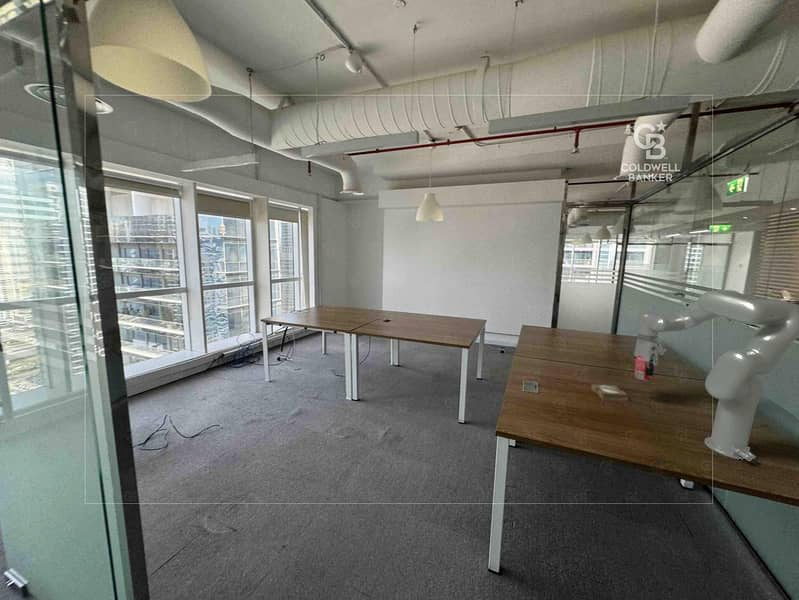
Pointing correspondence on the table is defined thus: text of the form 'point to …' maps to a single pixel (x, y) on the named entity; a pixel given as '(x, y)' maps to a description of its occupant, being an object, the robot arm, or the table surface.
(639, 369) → the soda can
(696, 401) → the table surface
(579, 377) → the table surface
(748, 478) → the table surface
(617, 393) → the base
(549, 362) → the table surface
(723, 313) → the robot arm
